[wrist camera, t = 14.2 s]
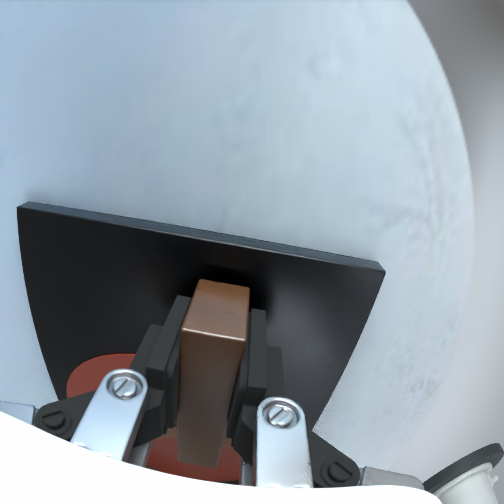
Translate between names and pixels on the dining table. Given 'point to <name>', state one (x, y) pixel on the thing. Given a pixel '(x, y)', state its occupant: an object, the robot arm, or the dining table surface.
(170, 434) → the loop
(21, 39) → the dining table surface
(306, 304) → the stove plate
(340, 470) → the robot arm
